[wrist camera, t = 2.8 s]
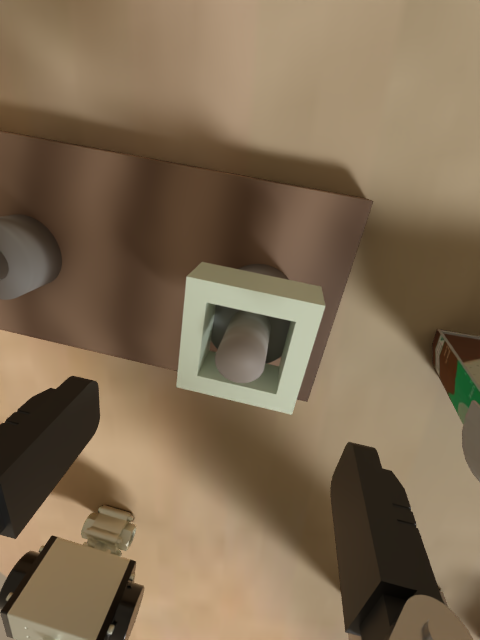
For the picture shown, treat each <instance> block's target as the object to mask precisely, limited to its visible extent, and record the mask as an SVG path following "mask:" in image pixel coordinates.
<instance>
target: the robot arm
mask: <svg viewBox="0 0 480 640" xmlns="http://www.w3.org/2000/svg"><path fill="white" fill-rule="evenodd" d="M99 420H100V408H99V388H98V383H97V382H96V381H93V380H89V379H84V378H80V377H76V376H71V377H69V378H68V379H67V380H66V381H64V382H63V383H62V384H61V385H60V386H59V387H58V388H57V389H52V388H49V389H47V390H45V391H43V392H41V393H39V394H37V395H35V396H33V397H32V398H30V399H29V400H28V401H27V402H26V403H25V404H24V405H22V406H21V407H20V408H19V409H18V411H17V412H14V413H13V414H12V415H11V416H10V417H9V418H8V419H6V421H5V423H2V424H1V425H0V535H3V536H7V537H11V538H14V539H16V538H17V537H18V535H19V534H20V533H21V531H22V530H23V529H24V527H25V526H26V525H27V523H28V522H29V521H30V519H31V518H32V517H33V515H34V514H35V513H36V511H37V510H38V509H39V507H40V506H41V505H42V503H43V502H44V501H45V499H46V498H47V497H48V495H49V494H50V493H51V491H52V490H53V489H54V487H55V486H56V485H57V483H58V482H59V481H60V479H61V478H62V477H63V475H64V474H65V473H66V471H67V470H68V469H69V467H70V466H71V465H72V463H73V462H74V461H75V459H76V458H77V457H78V455H79V454H80V453H81V452H82V450H83V449H84V448H85V446H86V445H87V444H88V442H89V441H90V440H91V438H92V437H93V435H94V434H95V432H96V430H97V427H98V424H99ZM331 504H332V513H333V522H334V532H335V541H336V550H337V559H338V568H339V578H340V587H341V596H342V605H343V614H344V623H345V632H346V633H348V637H349V640H473V638H472V636H471V634H470V633H469V631H468V629H467V628H466V627H465V625H464V624H463V622H462V621H461V620H460V619H459V618H458V616H457V615H456V614H455V613H454V612H453V611H452V610H451V609H449V608H448V605H447V602H446V600H445V597H444V594H443V592H441V591H439V588H438V586H437V583H436V580H435V577H434V574H433V571H432V568H431V565H430V562H429V559H428V556H427V553H426V550H425V548H424V545H423V542H422V539H421V536H420V533H419V530H418V528H416V521H415V518H414V515H413V512H411V507H410V504H409V501H408V498H407V495H406V492H405V489H404V487H403V486H402V485H401V483H400V482H399V480H398V479H397V478H396V476H395V475H394V473H393V472H392V471H390V470H386V469H382V466H381V463H380V459H379V456H378V453H377V450H376V449H375V448H373V447H369V446H364V445H360V444H356V443H352V442H348V443H347V445H346V446H345V449H344V451H343V453H342V456H341V458H340V460H339V462H338V465H337V467H336V469H335V472H334V474H333V477H332V481H331Z"/></svg>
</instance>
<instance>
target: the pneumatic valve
mask: <svg viewBox="0 0 480 640" xmlns="http://www.w3.org/2000/svg"><path fill="white" fill-rule="evenodd" d="M98 512H99V514H98V513H94V512H93V513H91V514H90V515H89V516H88V518H87V519H86V521H85V523H84V525H83V528H82V531H81V536H82V538H85V539H88V542H84V544H83V545H81V544H78V543H75V542H72V541H68V540H65V539H62V538H59V537H55V536H51V537H50V539H49V540H48V542H47V543H46V545H45V546H41V547H40V549H39V552H40V553H37V552H34V551H29V552H28V553H26V554H25V555H24V556H23V557H22V558H21V559H20V560H19V561H18V562H17V563H16V565H15V566H14V568H13V569H12V570H11V572H10V574H9V575H8V577H7V579H6V581H5V583H4V585H3V587H2V589H1V592H0V609H1V612H0V613H1V617H2V620H3V624H4V627H5V631H6V634H7V637H11V638H13V639H16V640H128V639H129V636H130V634H131V631H132V628H133V626H134V623H135V620H136V617H137V614H138V611H139V608H140V604H141V601H142V597H143V593H144V586H143V585H139V584H136V583H134V577H135V568H136V561H133V560H130V559H127V558H123V557H121V555H122V553H121V551H120V550H124V551H126V550H128V549H129V547H130V545H131V543H132V541H133V538H134V535H135V532H136V526H135V525H134V524H131V523H129V522H131V521H132V520H133V515H131V513H130V512H126V511H123V510H120V509H116V508H113V507H110V506H106V505H103V506H100V507H99V509H98ZM119 549H120V550H119Z"/></svg>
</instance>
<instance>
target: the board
mask: <svg viewBox="0 0 480 640" xmlns="http://www.w3.org/2000/svg"><path fill="white" fill-rule="evenodd" d="M372 204H373V201H371V200H369V199H366V198H361V197H356V196H350V195H345V194H339V193H334V192H329V191H323V190H318V189H312V188H307V187H302V186H296V185H291V184H285V183H280V182H275V181H269V180H264V179H259V178H253V177H248V176H242V175H237V174H232V173H226V172H221V171H215V170H210V169H205V168H199V167H194V166H189V165H183V164H178V163H172V162H167V161H162V160H156V159H151V158H145V157H140V156H135V155H129V154H124V153H118V152H113V151H108V150H102V149H97V148H92V147H86V146H81V145H75V144H70V143H65V142H59V141H54V140H48V139H43V138H38V137H32V136H27V135H21V134H16V133H11V132H5V131H0V330H5V331H9V332H13V333H17V334H22V335H26V336H30V337H34V338H39V339H43V340H47V341H51V342H56V343H60V344H64V345H68V346H73V347H77V348H81V349H85V350H90V351H94V352H98V353H102V354H107V355H111V356H115V357H119V358H124V359H128V360H132V361H136V362H140V363H145V364H149V365H153V366H157V367H162V368H166V369H170V370H174V371H178V363H179V352H180V341H181V331H182V320H183V309H184V298H185V288H186V277H187V276H188V275H189V274H190V273H191V272H192V271H193V270H194V269H195V268H196V267H197V266H198V265H199V264H200V263H201V262H206V263H210V264H215V265H220V266H225V267H230V268H234V269H239V270H244V271H249V272H254V273H258V274H263V275H268V276H273V277H278V278H282V279H287V280H292V281H297V282H302V283H306V284H311V285H316V286H321V287H322V292H323V297H324V301H325V309H324V312H323V316H322V319H321V322H320V325H319V329H318V332H317V335H316V338H315V342H314V345H313V348H312V351H311V355H310V358H309V361H308V364H307V367H306V371H305V374H304V377H303V380H302V384H301V387H300V390H299V393H298V397H297V400H302V401H306V402H307V401H308V398H309V395H310V392H311V389H312V386H313V383H314V380H315V377H316V374H317V371H318V368H319V365H320V362H321V359H322V356H323V353H324V350H325V347H326V344H327V340H328V337H329V334H330V331H331V328H332V325H333V322H334V319H335V316H336V313H337V310H338V307H339V304H340V301H341V298H342V295H343V292H344V289H345V286H346V283H347V280H348V277H349V274H350V271H351V268H352V265H353V262H354V259H355V255H356V252H357V249H358V246H359V243H360V240H361V237H362V234H363V231H364V228H365V225H366V222H367V219H368V216H369V213H370V210H371V207H372ZM290 322H291V321H289V320H284V319H280V318H275V317H271V316H266V315H261V314H257V313H252V312H248V311H243V310H238V309H234V308H229V307H225V306H220V305H216V308H215V315H214V322H213V329H212V336H211V343H210V350H209V351H214V352H216V355H215V364H216V367H217V369H218V371H219V372H220V373H221V374H222V375H223V376H224V377H225V378H226V379H228V380H230V381H232V382H236V383H249V382H252V381H254V380H256V379H257V378H259V377H260V376H261V374H262V373H263V371H264V367H265V363H266V364H271V365H275V366H279V364H280V360H281V357H282V353H283V349H284V345H285V341H286V338H287V334H288V330H289V326H290Z"/></svg>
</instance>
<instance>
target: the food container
mask: <svg viewBox="0 0 480 640" xmlns="http://www.w3.org/2000/svg"><path fill="white" fill-rule="evenodd" d="M432 354H433V365H434V367H435V369H436V371H437V373H438V376H439V378H440V380H441V382H442V384H443V386H444V388H445V390H446V392H447V394H448V396H449V398H450V400H451V402H452V403H453V405H454V407H455V409H456V411H457V413H458V415H459V417H460V419H461V421H462V423H463V430H462V448H463V452H464V455H465V459H466V462H467V464H468V466H469V468H470V470H471V471H472V473H473V475H474V476H475V477H476V478H477V479H478V481H479V482H480V336H475V335H469V334H463V333H457V332H451V331H445V330H439V329H437V331H436V334H435V337H434V340H433V344H432Z"/></svg>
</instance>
